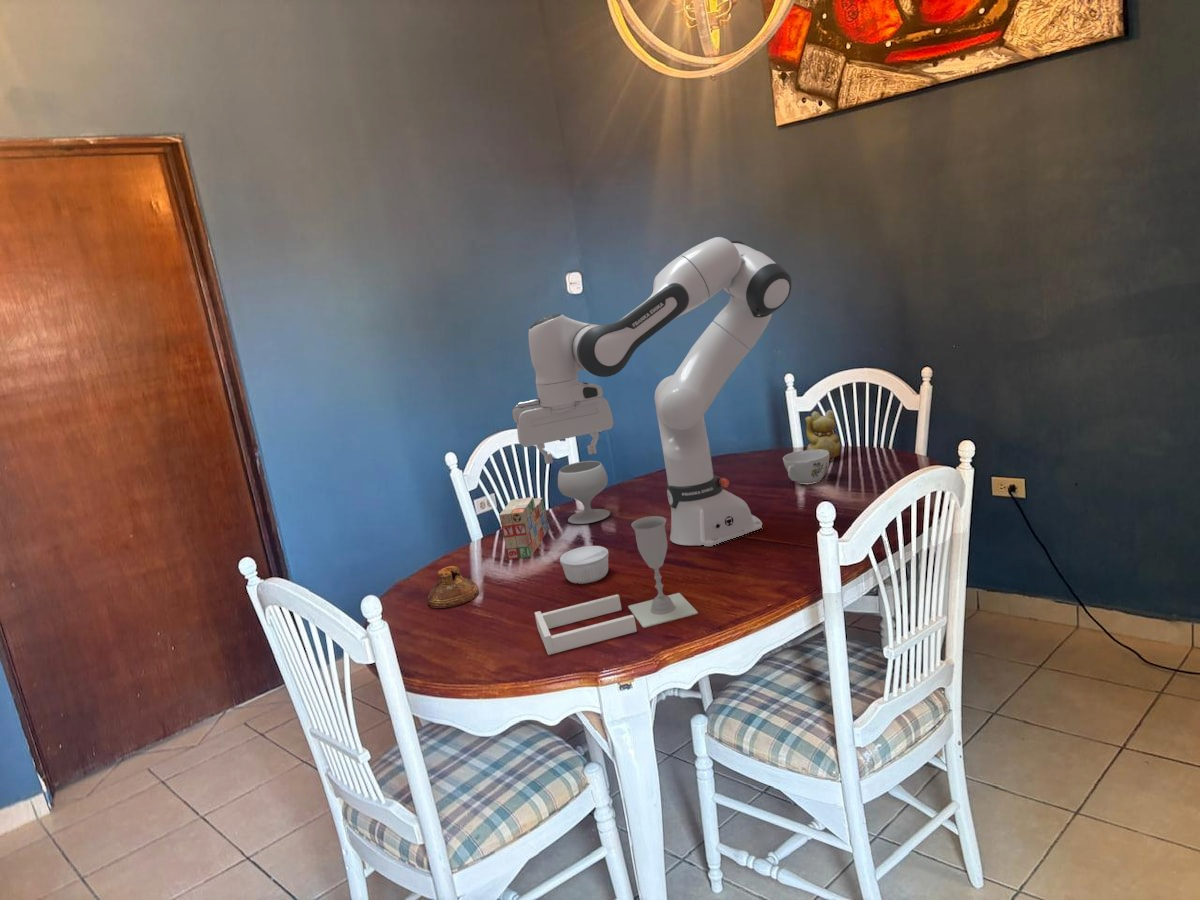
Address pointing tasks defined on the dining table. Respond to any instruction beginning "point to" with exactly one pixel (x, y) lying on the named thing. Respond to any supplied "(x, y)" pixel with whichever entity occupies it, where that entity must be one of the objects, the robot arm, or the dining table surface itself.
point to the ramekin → (585, 564)
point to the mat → (650, 619)
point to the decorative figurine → (822, 433)
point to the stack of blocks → (523, 526)
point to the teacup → (807, 465)
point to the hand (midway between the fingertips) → (571, 458)
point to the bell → (452, 589)
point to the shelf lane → (586, 633)
